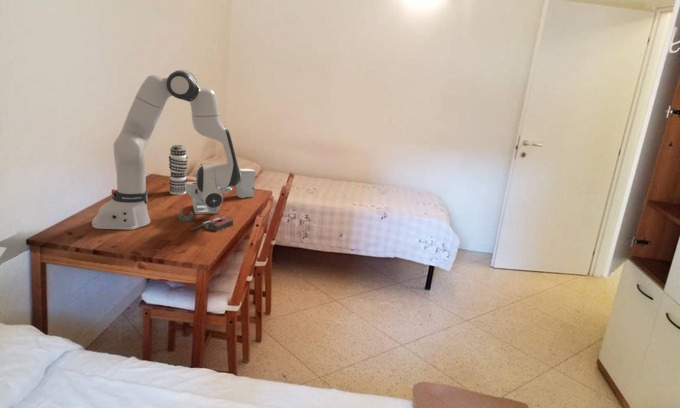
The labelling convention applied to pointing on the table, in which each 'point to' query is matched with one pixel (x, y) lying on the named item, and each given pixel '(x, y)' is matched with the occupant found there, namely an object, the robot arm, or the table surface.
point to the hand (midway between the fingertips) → (206, 182)
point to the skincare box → (246, 184)
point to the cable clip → (185, 217)
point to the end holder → (203, 207)
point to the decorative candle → (177, 169)
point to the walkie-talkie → (216, 224)
